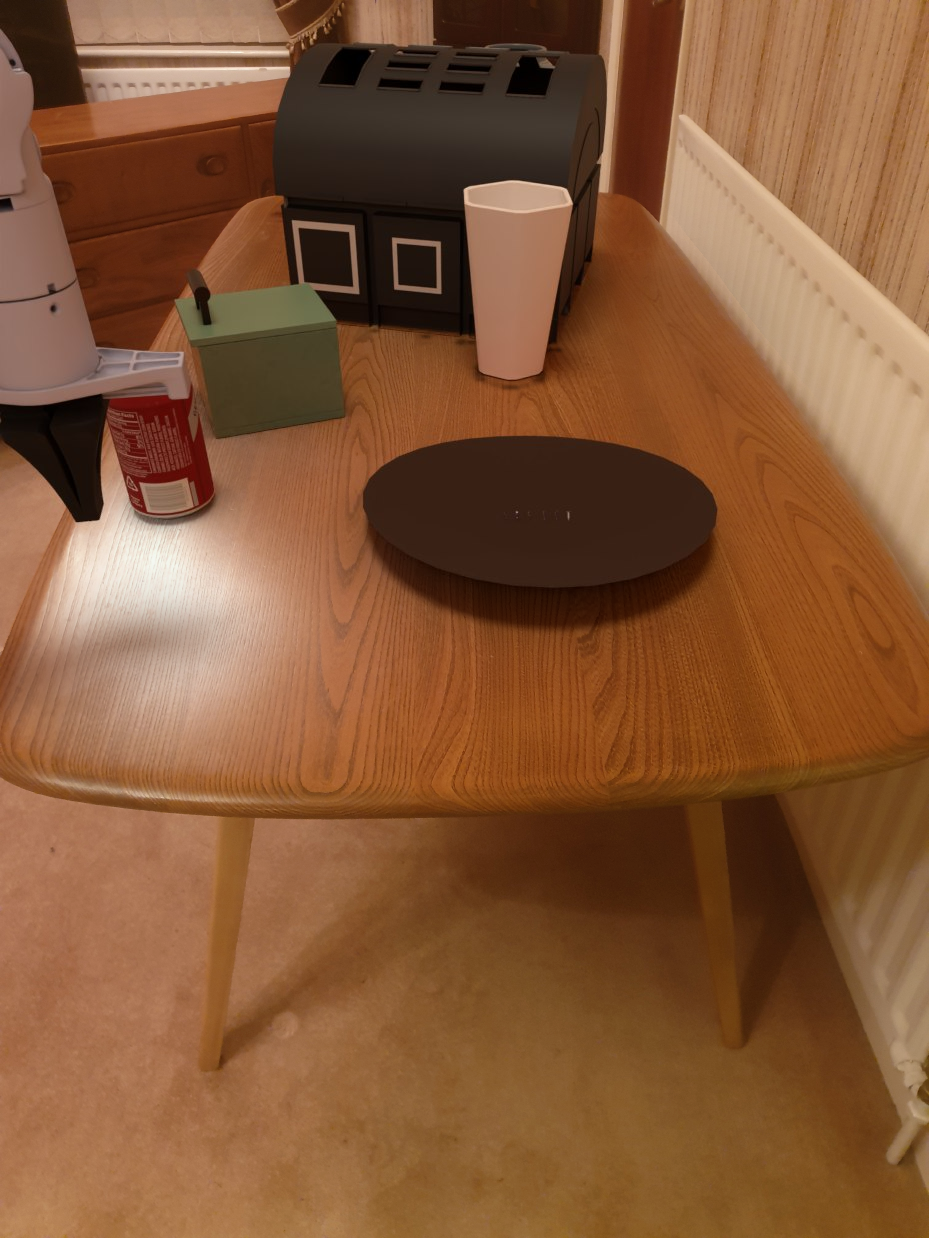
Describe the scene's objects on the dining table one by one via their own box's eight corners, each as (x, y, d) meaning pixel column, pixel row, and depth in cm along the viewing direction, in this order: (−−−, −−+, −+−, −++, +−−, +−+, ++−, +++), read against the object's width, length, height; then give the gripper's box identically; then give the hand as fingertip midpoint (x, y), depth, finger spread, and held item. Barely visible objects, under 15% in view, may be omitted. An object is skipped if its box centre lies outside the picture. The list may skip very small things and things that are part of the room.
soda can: (205, 525, 69) (173, 385, 62) (121, 524, 69) (79, 384, 62) (224, 481, 75) (197, 347, 67) (146, 480, 75) (110, 346, 67)
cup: (561, 388, 89) (577, 212, 78) (463, 388, 89) (465, 211, 78) (551, 345, 98) (564, 180, 87) (462, 345, 98) (463, 180, 87)
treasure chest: (554, 347, 97) (575, 78, 81) (290, 319, 103) (258, 63, 86) (592, 259, 121) (614, 37, 104) (375, 240, 127) (363, 27, 110)
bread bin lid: (191, 347, 75) (181, 300, 72) (175, 306, 82) (166, 262, 79) (337, 327, 78) (333, 281, 76) (309, 290, 86) (305, 247, 83)
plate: (674, 436, 81) (681, 400, 79) (750, 630, 60) (762, 588, 58) (377, 435, 81) (375, 398, 79) (347, 628, 60) (342, 587, 57)
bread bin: (216, 438, 80) (198, 347, 75) (199, 392, 88) (182, 306, 82) (345, 416, 84) (337, 328, 78) (318, 374, 91) (309, 290, 86)
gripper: (172, 251, 47) (215, 469, 56) (-114, 264, 45) (-22, 488, 54) (160, 296, 42) (211, 529, 51) (-164, 313, 40) (-53, 553, 49)
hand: (89, 512), depth 52 cm, fingers closed
